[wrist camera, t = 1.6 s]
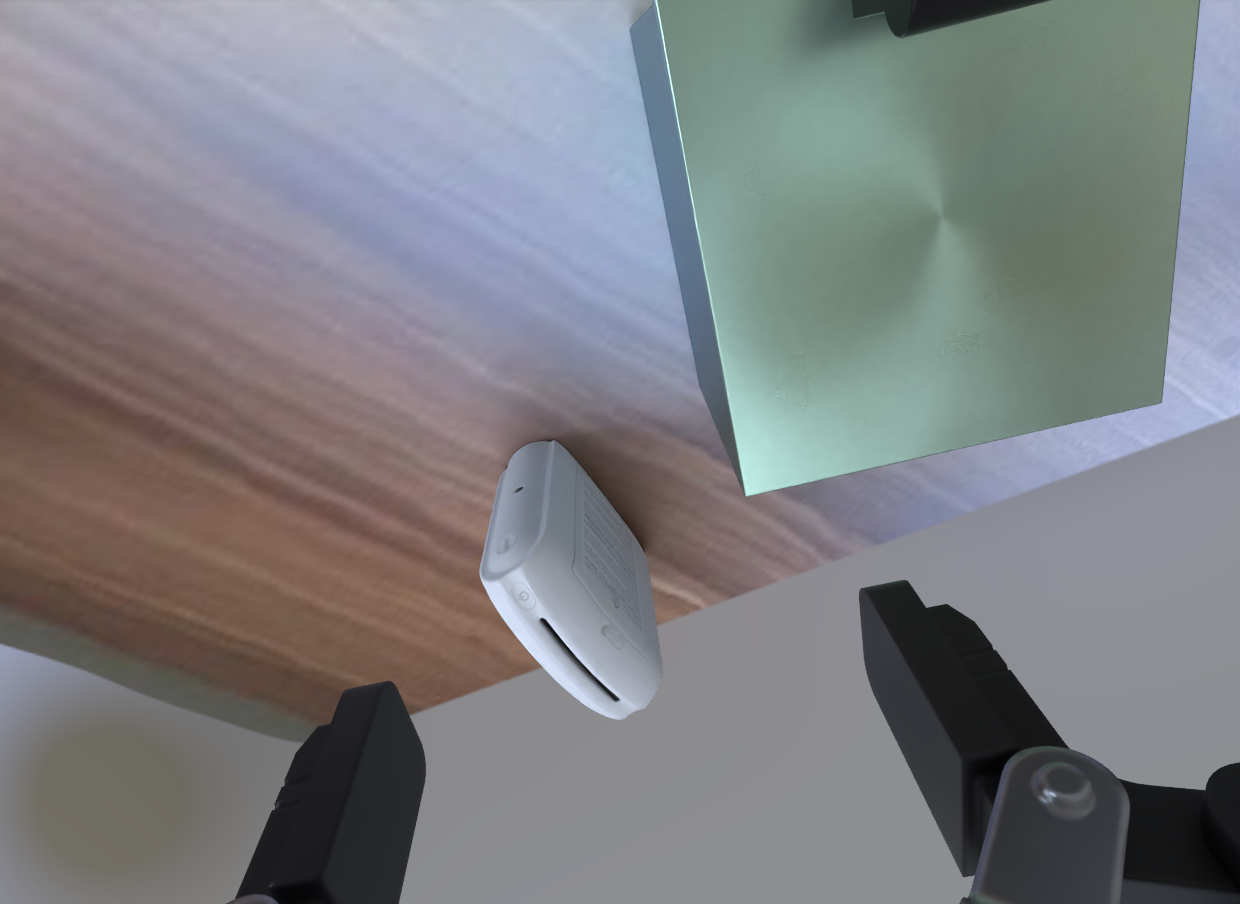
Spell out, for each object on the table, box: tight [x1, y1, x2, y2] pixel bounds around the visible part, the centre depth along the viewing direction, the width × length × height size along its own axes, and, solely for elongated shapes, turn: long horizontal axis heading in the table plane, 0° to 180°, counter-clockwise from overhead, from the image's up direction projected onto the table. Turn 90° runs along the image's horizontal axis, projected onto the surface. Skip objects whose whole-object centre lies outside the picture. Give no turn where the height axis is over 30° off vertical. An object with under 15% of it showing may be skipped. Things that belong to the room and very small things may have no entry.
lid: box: [653, 0, 1200, 497], centre depth 23 cm, size 18×16×6 cm
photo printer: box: [480, 440, 663, 719], centre depth 37 cm, size 10×4×12 cm, turn 33°
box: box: [630, 5, 741, 486], centre depth 31 cm, size 17×16×11 cm
